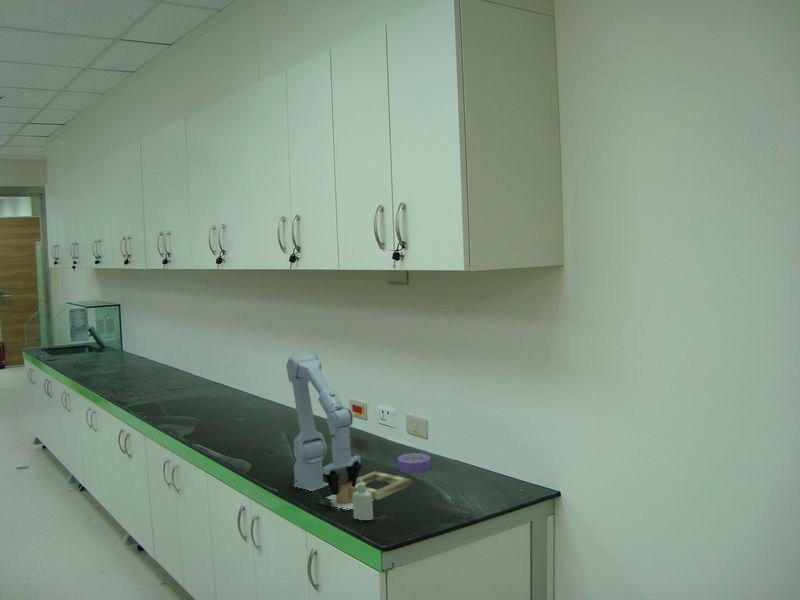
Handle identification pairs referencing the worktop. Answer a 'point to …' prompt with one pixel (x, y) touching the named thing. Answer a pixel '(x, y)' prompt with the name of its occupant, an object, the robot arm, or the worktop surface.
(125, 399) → the worktop surface
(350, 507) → the mat
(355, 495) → the eye dropper bottle
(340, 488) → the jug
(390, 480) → the holder
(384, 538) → the worktop surface
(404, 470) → the masking tape
